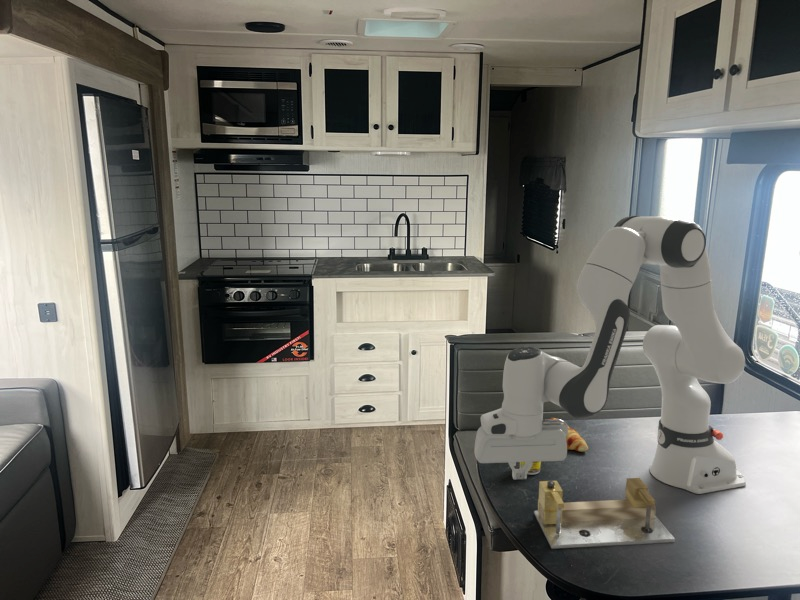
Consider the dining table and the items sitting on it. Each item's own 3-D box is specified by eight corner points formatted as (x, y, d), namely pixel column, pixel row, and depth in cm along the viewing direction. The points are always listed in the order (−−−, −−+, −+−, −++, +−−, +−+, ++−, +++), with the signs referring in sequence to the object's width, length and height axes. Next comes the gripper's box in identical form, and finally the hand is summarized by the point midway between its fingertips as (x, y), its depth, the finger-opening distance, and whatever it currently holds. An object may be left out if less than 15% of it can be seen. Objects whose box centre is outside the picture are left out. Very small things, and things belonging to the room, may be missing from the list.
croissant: (592, 462, 169) (601, 435, 169) (575, 457, 162) (584, 429, 163) (532, 436, 185) (540, 412, 185) (514, 430, 178) (523, 405, 179)
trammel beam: (647, 508, 138) (649, 477, 136) (666, 531, 129) (669, 499, 127) (538, 513, 137) (539, 482, 135) (550, 538, 128) (551, 504, 126)
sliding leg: (554, 510, 137) (556, 476, 135) (568, 535, 128) (570, 499, 126) (537, 511, 137) (539, 477, 135) (550, 536, 128) (552, 500, 126)
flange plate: (646, 508, 139) (646, 504, 139) (674, 541, 127) (675, 538, 127) (534, 513, 138) (534, 510, 138) (551, 548, 125) (551, 544, 125)
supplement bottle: (530, 477, 154) (531, 441, 152) (515, 469, 159) (516, 434, 156) (545, 471, 157) (546, 436, 155) (529, 463, 162) (531, 428, 159)
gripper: (563, 413, 132) (560, 469, 135) (473, 415, 131) (472, 472, 134) (573, 425, 126) (569, 483, 129) (479, 427, 125) (477, 486, 128)
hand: (519, 477), depth 132 cm, fingers closed
